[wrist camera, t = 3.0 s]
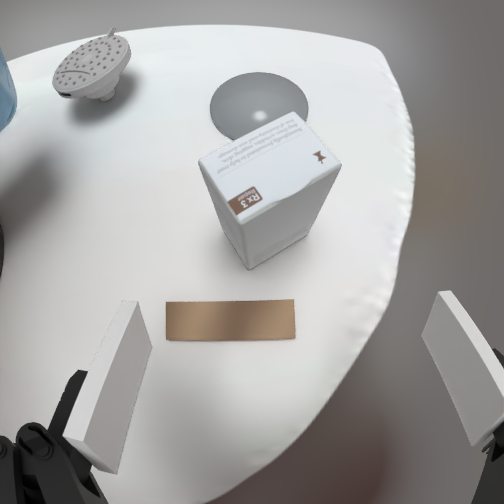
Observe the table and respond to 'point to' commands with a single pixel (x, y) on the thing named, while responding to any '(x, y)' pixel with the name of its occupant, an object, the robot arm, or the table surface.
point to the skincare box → (269, 186)
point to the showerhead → (93, 68)
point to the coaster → (255, 102)
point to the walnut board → (230, 320)
